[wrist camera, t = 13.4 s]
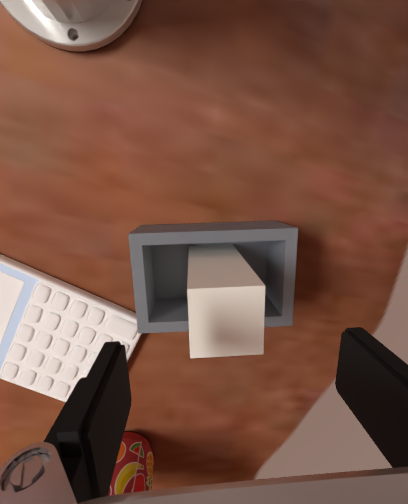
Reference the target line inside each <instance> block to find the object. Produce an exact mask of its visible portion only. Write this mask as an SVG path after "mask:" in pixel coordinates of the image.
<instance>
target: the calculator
mask: <svg viewBox="0 0 408 504" xmlns="http://www.w3.org/2000/svg"><path fill="white" fill-rule="evenodd" d="M74 300H75V301H74ZM82 328H83V329H82ZM55 329H56V330H55ZM39 332H40V333H39ZM141 334H142V333H139V334H138V328H137V318H136V313H135V312H132V311H130V310H128V309H126V308H123V307H121V306H119V305H117V304H114V303H112V302H110V301H107V300H105V299H103V298H100V297H98V296H96V295H94V294H91V293H89V292H87V291H84V290H82V289H80V288H77V287H75V286H73V285H71V284H68V283H66V282H64V281H61V280H59V279H57V278H54V277H52V276H50V275H48V274H45V273H43V272H41V271H38V270H36V269H34V268H32V267H29V266H27V265H25V264H22V263H20V262H18V261H15V260H13V259H11V258H9V257H6V256H4V255H2V254H0V378H1V379H3V380H6V381H9V382H12V383H14V384H17V385H20V386H23V387H25V388H28V389H31V390H34V391H36V392H39V393H42V394H45V395H47V396H50V397H53V398H56V399H58V400H61V401H64V402H66V401H67V400H68V398H69V396H70V394H71V392H72V391H73V389H74V387H75V385H76V384H77V382H78V381H79V379H80V378H83V377H87V375H88V373H89V371H90V369H91V367H92V365H93V363H94V362H95V360H96V358H97V356H98V354H99V352H100V350H101V348H102V347H103V345H104V343H105V342H114V341H119V342H120V343H121V345H125V349H126V357H127V362H128V360H129V358H130V356H131V354H132V352H133V350H134V348H135V346H136V344H137V342H138V340H139V338H140V336H141ZM56 340H57V341H56ZM91 342H92V343H91ZM128 349H129V350H128ZM127 351H128V352H127ZM65 354H66V355H65ZM89 356H90V357H89ZM88 358H89V359H88ZM22 359H23V360H22ZM47 360H48V361H47ZM65 365H66V366H65ZM79 377H80V378H79Z"/></svg>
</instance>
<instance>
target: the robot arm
mask: <svg viewBox="0 0 408 504" xmlns="http://www.w3.org/2000/svg"><path fill="white" fill-rule="evenodd" d="M0 2H1V4H2V5H3V6H4V8H5V9H6V10H7V11H8V12H9V13H10V15H11V16H12V17H13V18H14V19H15V20H16V21H17V22H18V23H19V24H20V25H21V26H22V27H23V28H24V29H25V30H26V31H28V32H29V33H30V34H32V35H33V36H35V37H36V38H37V39H39V40H40V41H42V42H44V43H47V44H49V45H51V46H53V47H56V48H59V49H63V50H67V51H82V52H83V51H89V50H95V49H98V48H100V47H103V46H105V45H108V44H110V43H111V42H112V41H114V40H115V39H117V38H118V37H120V36H121V35H122V34H123V33H124V31H125V30H126V29H127V28H128V27H129V26H130V25H131V23H132V21H133V20H134V18H135V16H136V15H137V13H138V11H139V8H140V5H141V3H142V0H131V1H129V0H0ZM76 38H78V39H77V40H75V39H76ZM335 384H336V389H337V391H338V393H339V394H340V396H341V397H342V398H343V400H344V401H345V403H346V404H347V405H348V407H349V408H350V410H351V411H352V412H353V414H354V415H355V416H356V418H357V419H358V421H359V422H360V423H361V424H362V426H363V427H364V429H365V430H366V432H367V433H368V434H369V436H370V437H371V438H372V440H373V441H374V443H375V444H376V445H377V447H378V448H379V450H380V451H381V452H382V454H383V455H384V456H385V458H386V459H387V460H388V462H389V463H390V465H391V466H392V467H393V468H387V469H374V470H363V471H350V472H339V473H326V474H315V475H304V476H292V477H281V478H270V479H259V480H248V481H237V482H227V483H216V484H206V485H195V486H185V487H174V488H166V489H157V490H148V491H140V492H131V493H123V494H118V495H112V496H108V492H109V488H110V484H111V481H112V477H113V473H114V469H115V465H116V461H117V458H118V454H119V450H120V446H121V442H122V438H123V434H124V431H125V427H126V423H127V419H128V415H129V411H130V407H131V391H130V382H129V374H128V366H127V357H126V349H125V345H121V343H120V342H119V341H114V342H105V343H104V345H103V347H102V348H101V350H100V352H99V354H98V356H97V358H96V360H95V362H94V363H93V365H92V367H91V369H90V371H89V373H88V375H87V377H83V378H80V379H79V381H78V382H77V384H76V385H75V387H74V389H73V391H72V392H71V394H70V396H69V398H68V400H67V401H66V403H65V405H64V407H63V408H62V410H61V412H60V414H59V416H58V417H57V419H56V421H55V423H54V424H53V426H52V428H51V430H50V431H49V433H48V435H47V437H46V439H45V440H44V442H39V443H35V444H31V445H29V446H27V447H25V448H23V449H21V450H20V451H18V452H17V453H15V454H14V455H13V456H11V457H10V458H9V459H8V460H7V461H6V462H5V463H4V464H3V466H2V467H1V468H0V504H408V365H407V364H406V363H405V362H404V361H402V360H401V359H400V358H399V357H397V356H396V355H395V354H394V353H393V352H391V351H390V350H389V349H388V348H386V347H385V346H384V345H383V344H382V343H380V342H379V341H378V340H377V339H375V338H374V337H373V336H372V335H370V334H369V333H368V332H367V331H366V330H364V329H363V328H361V327H357V328H347V329H346V330H345V332H343V333H342V335H341V343H340V351H339V359H338V366H337V374H336V382H335Z"/></svg>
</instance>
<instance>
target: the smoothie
mask: <svg viewBox="0 0 408 504" xmlns="http://www.w3.org/2000/svg"><path fill="white" fill-rule="evenodd" d="M153 463H154V457H153V453H152V451H151V447H150V443H149V442H148V441H147V439H146V438H145V437H143V436H142V435H140V434H137V433H134V432H124V434H123V438H122V442H121V446H120V450H119V454H118V458H117V461H116V465H115V469H114V473H113V477H112V481H111V484H110V488H109V492H108V496H112V495H118V494H123V493H131V492H140V491H148V490H151V488H152V476H153Z"/></svg>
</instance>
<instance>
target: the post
mask: <svg viewBox="0 0 408 504" xmlns="http://www.w3.org/2000/svg"><path fill="white" fill-rule="evenodd" d="M187 298H188V319H189V341H190V358H204V357H222V356H240V355H257V354H263V345H264V312H265V285H264V283H263V282H262V281H261V280H260V278H259V277H258V276H257V274H256V273H255V272H254V271H253V269H252V268H251V267H250V266H249V264H248V263H247V262H246V261H245V259H244V258H243V257H242V256H241V254H240V253H239V252H238V251H237V249H236V248H235V247H234V246H233V244H219V245H192V246H189V254H188V279H187Z"/></svg>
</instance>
